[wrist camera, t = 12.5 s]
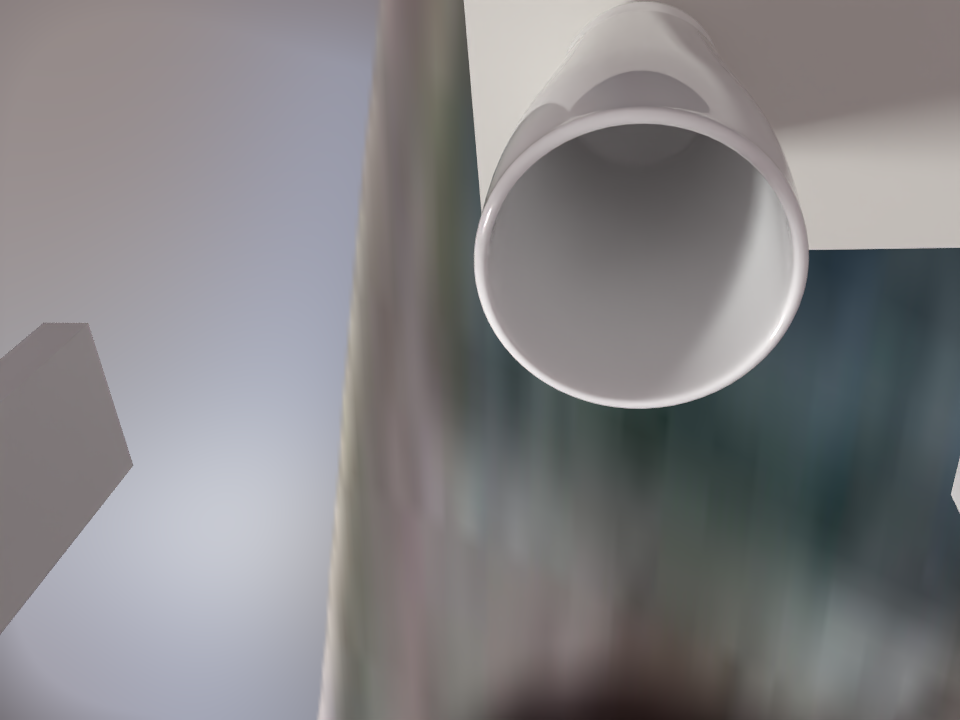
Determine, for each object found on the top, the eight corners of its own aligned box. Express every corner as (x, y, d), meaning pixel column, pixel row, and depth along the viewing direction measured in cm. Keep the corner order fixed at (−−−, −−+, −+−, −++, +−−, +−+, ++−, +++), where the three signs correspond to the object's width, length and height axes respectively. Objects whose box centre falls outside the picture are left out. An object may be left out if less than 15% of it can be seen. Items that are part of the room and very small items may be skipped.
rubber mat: (486, 250, 35) (485, 254, 35) (455, -130, 29) (453, -129, 28) (1177, 239, 31) (1183, 244, 31) (1320, -205, 25) (1329, -206, 24)
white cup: (549, -36, 29) (477, 87, 17) (763, -18, 29) (857, 124, 16) (531, 166, 33) (461, 393, 20) (721, 186, 32) (771, 434, 20)
